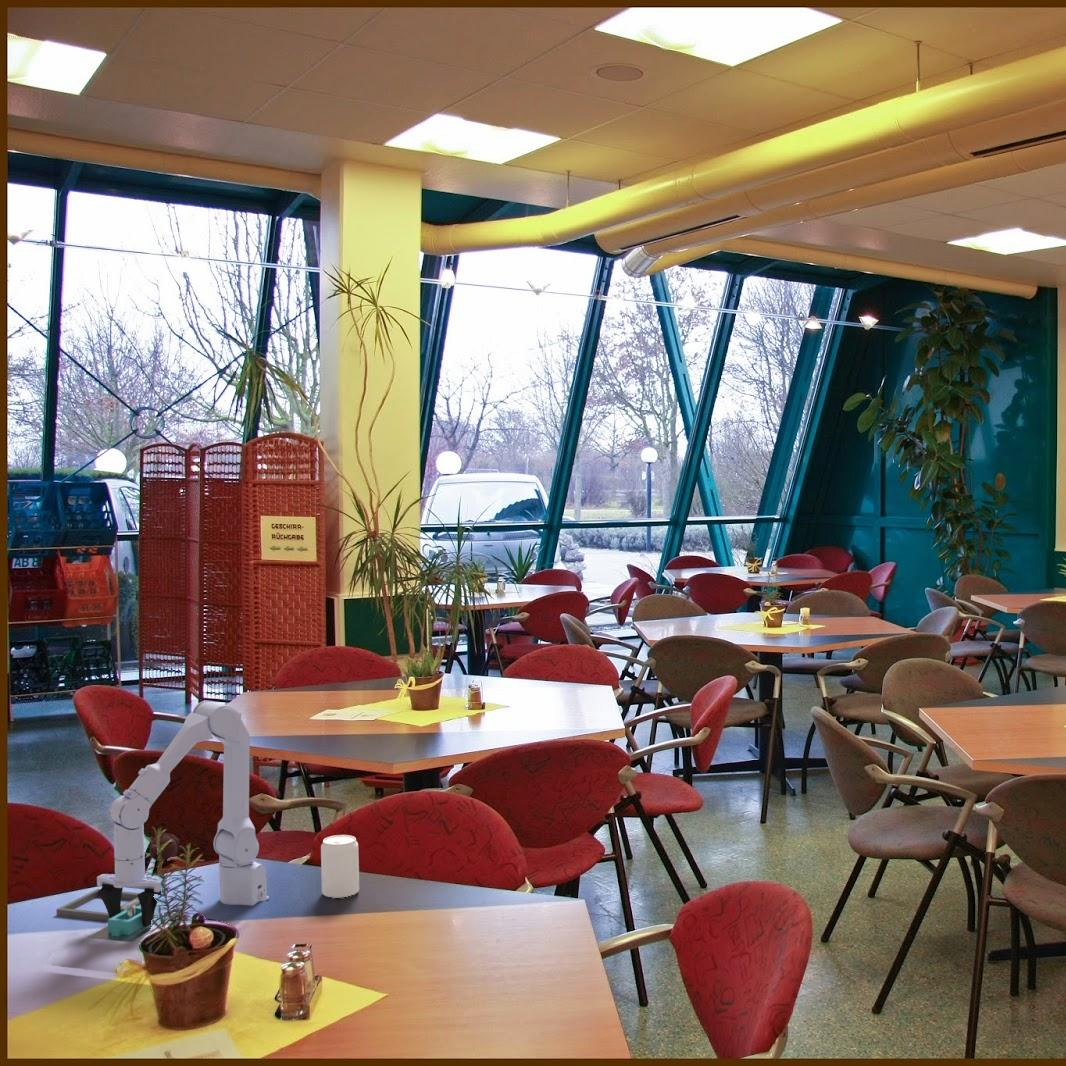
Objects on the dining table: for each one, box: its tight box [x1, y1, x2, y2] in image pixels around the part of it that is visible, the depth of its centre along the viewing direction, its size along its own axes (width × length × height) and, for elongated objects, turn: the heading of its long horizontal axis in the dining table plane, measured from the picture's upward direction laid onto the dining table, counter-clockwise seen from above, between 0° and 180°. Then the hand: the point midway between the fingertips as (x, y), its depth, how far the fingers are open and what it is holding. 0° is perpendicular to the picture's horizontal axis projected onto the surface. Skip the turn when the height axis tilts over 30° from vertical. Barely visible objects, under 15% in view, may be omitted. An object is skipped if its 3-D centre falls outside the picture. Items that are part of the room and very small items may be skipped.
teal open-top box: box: [107, 905, 154, 936], centre depth 232 cm, size 5×9×3 cm, turn 163°
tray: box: [55, 888, 141, 922], centre depth 244 cm, size 13×13×2 cm
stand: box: [87, 900, 159, 943], centre depth 232 cm, size 10×14×6 cm
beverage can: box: [320, 834, 360, 899], centre depth 253 cm, size 8×8×12 cm
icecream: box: [148, 832, 181, 864], centre depth 279 cm, size 7×7×15 cm
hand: (131, 923), depth 233 cm, fingers open, 7 cm apart
